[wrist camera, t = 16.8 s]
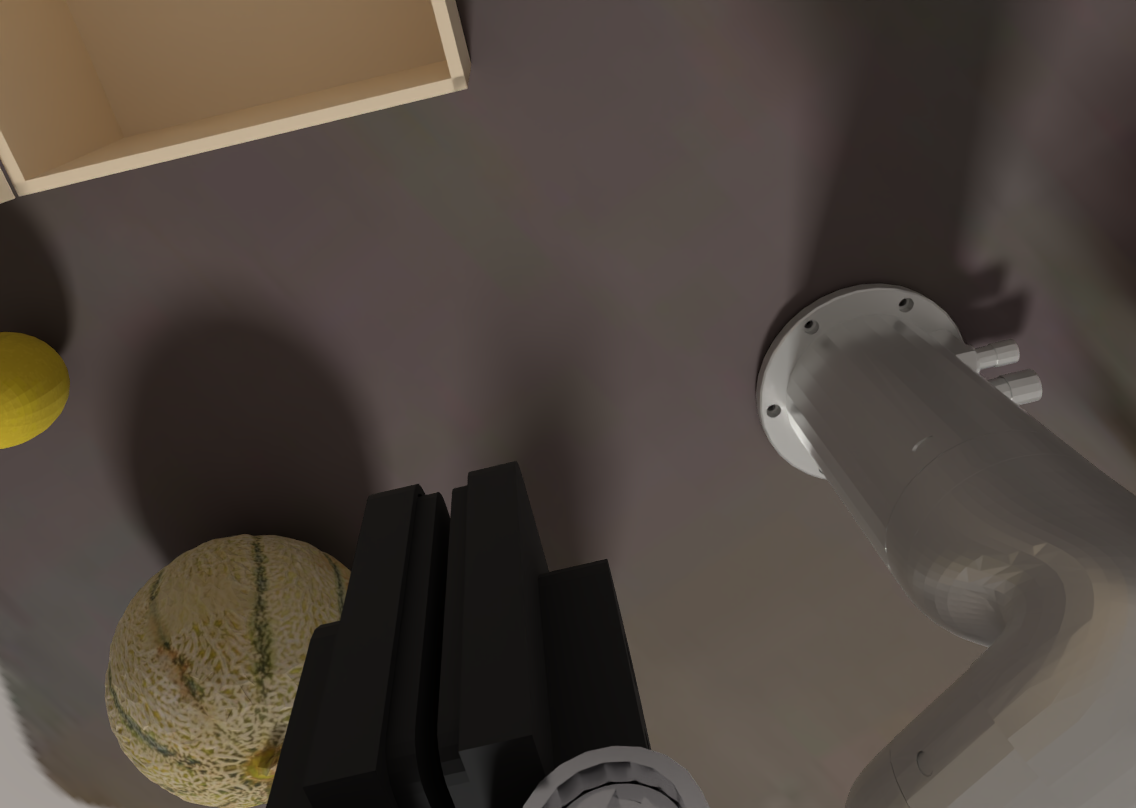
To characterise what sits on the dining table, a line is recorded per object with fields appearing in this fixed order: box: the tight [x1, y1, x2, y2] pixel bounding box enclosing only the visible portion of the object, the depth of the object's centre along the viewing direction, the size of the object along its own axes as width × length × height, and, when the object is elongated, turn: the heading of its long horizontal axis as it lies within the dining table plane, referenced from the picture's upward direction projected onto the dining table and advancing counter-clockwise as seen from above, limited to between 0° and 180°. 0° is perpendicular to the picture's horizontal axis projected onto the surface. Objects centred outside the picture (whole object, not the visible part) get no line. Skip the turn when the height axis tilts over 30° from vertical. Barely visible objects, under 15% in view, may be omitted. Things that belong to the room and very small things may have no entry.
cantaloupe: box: [105, 534, 351, 808], centre depth 50 cm, size 15×15×15 cm
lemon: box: [0, 332, 70, 449], centre depth 45 cm, size 6×6×8 cm
